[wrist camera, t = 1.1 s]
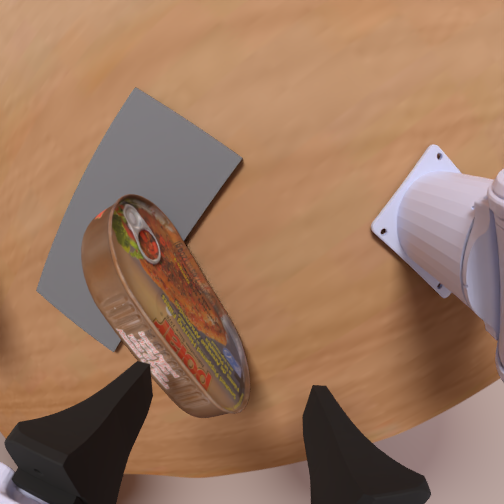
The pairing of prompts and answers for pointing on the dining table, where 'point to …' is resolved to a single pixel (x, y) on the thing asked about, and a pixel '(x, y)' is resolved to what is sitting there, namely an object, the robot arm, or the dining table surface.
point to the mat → (139, 183)
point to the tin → (164, 308)
